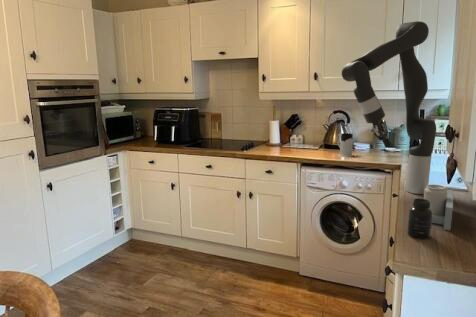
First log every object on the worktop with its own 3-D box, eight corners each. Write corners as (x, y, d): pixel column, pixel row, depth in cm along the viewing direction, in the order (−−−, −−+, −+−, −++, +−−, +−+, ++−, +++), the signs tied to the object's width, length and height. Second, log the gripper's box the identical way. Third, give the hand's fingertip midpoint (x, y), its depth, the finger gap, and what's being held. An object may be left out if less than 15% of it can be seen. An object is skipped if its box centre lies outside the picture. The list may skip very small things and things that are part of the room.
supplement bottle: (405, 230, 126) (408, 196, 124) (427, 232, 124) (431, 198, 122) (408, 238, 120) (412, 202, 117) (432, 240, 118) (435, 204, 115)
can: (438, 213, 142) (441, 183, 139) (448, 220, 134) (452, 189, 132) (418, 213, 142) (421, 183, 140) (427, 220, 135) (430, 189, 132)
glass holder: (345, 157, 249) (346, 135, 246) (331, 153, 262) (332, 132, 259) (355, 156, 253) (356, 134, 250) (341, 152, 265) (342, 132, 262)
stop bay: (424, 205, 151) (426, 187, 149) (450, 209, 146) (453, 190, 144) (419, 225, 130) (421, 203, 129) (450, 230, 126) (452, 208, 124)
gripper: (377, 111, 140) (395, 150, 143) (383, 100, 150) (400, 137, 153) (359, 117, 144) (376, 156, 148) (365, 106, 154) (382, 142, 158)
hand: (388, 146), depth 150 cm, fingers closed
